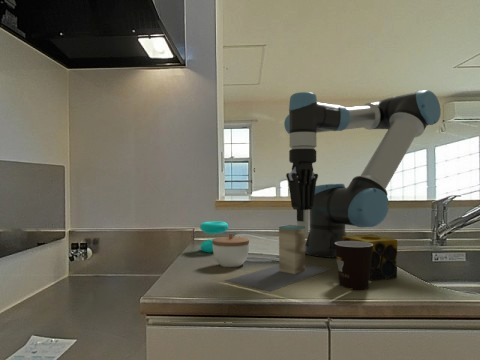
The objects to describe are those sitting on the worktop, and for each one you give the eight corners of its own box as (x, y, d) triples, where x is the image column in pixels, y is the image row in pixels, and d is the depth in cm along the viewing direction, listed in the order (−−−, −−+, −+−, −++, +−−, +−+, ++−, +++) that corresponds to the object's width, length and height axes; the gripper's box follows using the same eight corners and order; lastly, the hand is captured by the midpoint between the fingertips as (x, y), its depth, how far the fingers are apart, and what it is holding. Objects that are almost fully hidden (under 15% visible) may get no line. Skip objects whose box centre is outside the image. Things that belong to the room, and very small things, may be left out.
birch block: (289, 267, 108) (289, 224, 108) (305, 270, 105) (304, 226, 105) (279, 271, 105) (279, 226, 105) (294, 274, 101) (294, 228, 101)
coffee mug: (375, 293, 86) (375, 247, 86) (335, 290, 87) (335, 246, 87) (369, 279, 97) (369, 239, 97) (333, 277, 99) (333, 238, 99)
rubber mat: (289, 263, 116) (289, 261, 116) (332, 270, 107) (332, 268, 107) (224, 282, 95) (224, 280, 95) (270, 292, 86) (270, 291, 86)
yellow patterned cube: (340, 273, 104) (340, 236, 104) (371, 269, 108) (370, 233, 108) (365, 282, 94) (365, 241, 94) (398, 278, 98) (398, 239, 98)
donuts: (230, 223, 133) (201, 224, 132) (230, 252, 133) (201, 253, 132) (226, 220, 143) (199, 221, 142) (226, 247, 143) (199, 248, 142)
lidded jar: (227, 272, 106) (227, 237, 105) (205, 265, 114) (205, 233, 114) (256, 266, 112) (256, 234, 112) (233, 260, 121) (233, 230, 121)
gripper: (304, 150, 116) (303, 229, 116) (278, 148, 107) (277, 233, 107) (326, 149, 111) (326, 231, 111) (301, 146, 102) (301, 236, 102)
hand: (302, 232), depth 109 cm, fingers closed
